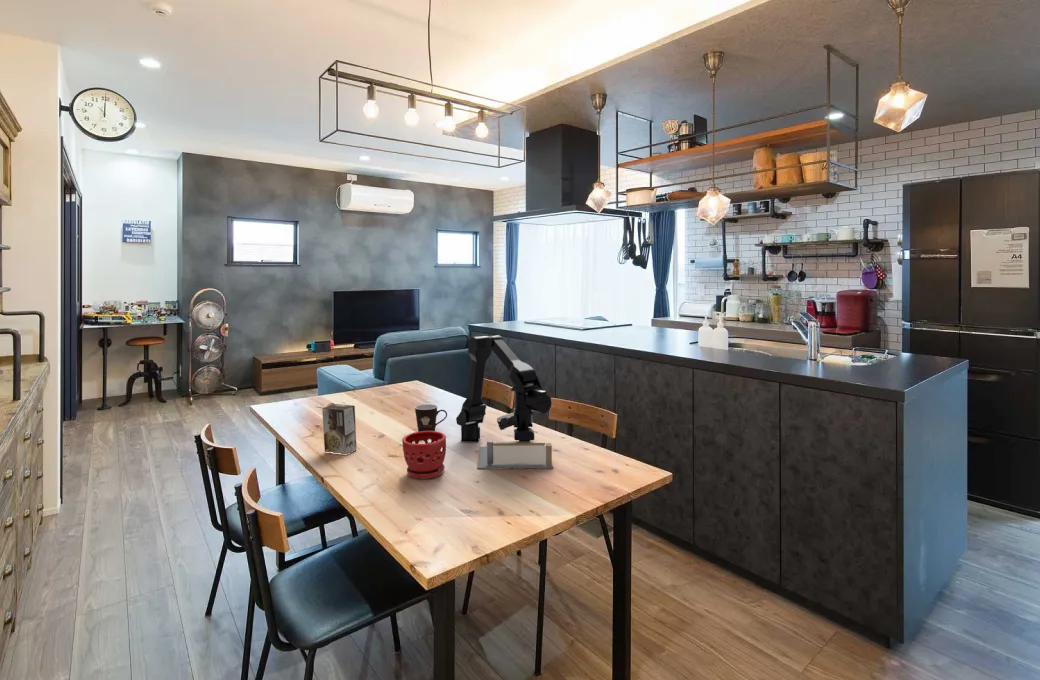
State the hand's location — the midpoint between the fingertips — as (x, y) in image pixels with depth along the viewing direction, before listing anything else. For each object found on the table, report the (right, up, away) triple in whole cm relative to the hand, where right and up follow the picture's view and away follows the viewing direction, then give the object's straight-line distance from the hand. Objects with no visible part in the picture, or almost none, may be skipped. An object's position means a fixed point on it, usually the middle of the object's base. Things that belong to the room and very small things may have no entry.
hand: (522, 452), depth 181 cm
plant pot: (-30, -5, -10) cm, 32 cm away
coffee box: (-63, -2, +11) cm, 64 cm away
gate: (-2, -3, -3) cm, 5 cm away
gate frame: (-3, -3, +5) cm, 6 cm away
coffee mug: (-36, +1, +33) cm, 49 cm away
